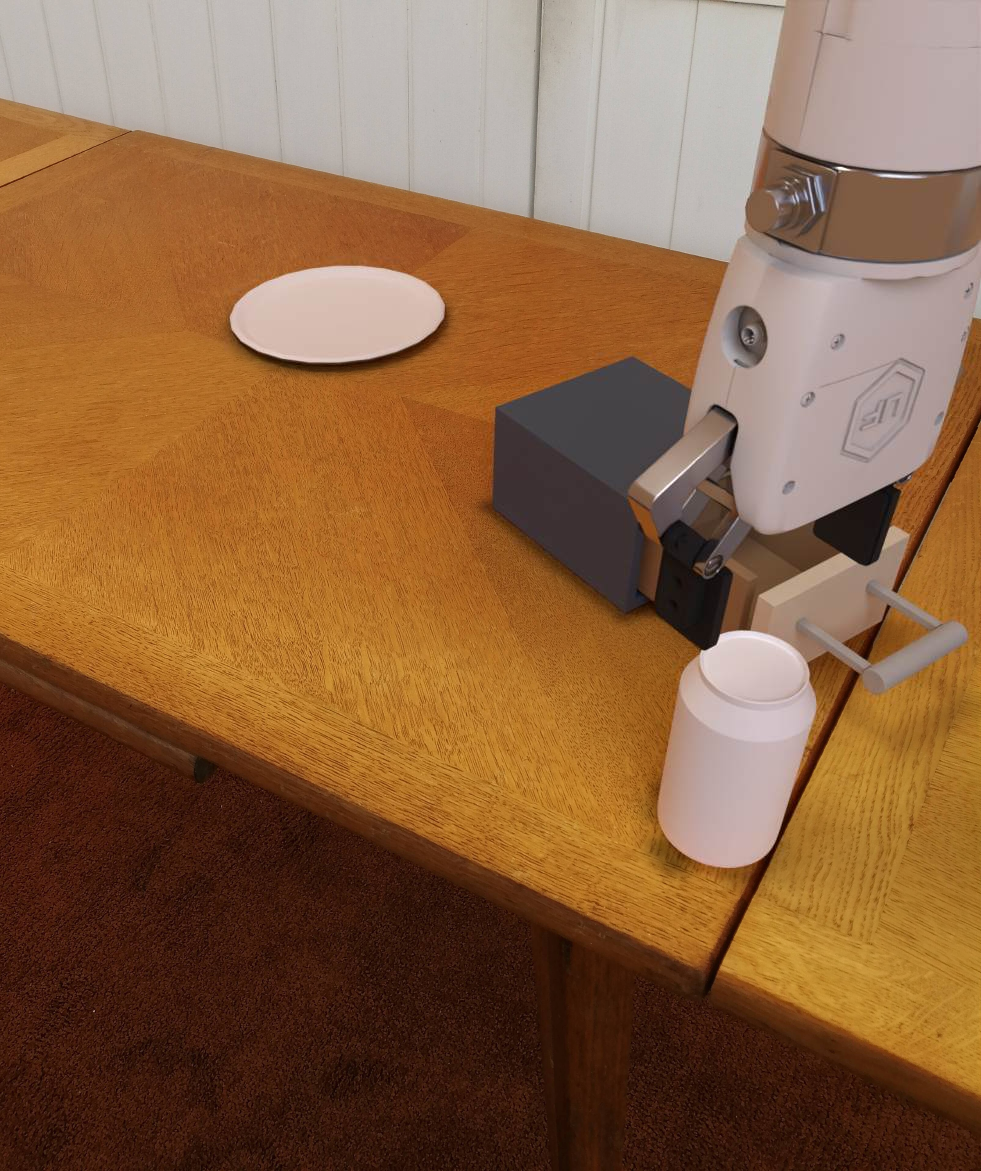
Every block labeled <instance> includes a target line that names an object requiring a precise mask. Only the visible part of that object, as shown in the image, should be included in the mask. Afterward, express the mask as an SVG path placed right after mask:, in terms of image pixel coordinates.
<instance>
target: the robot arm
mask: <svg viewBox="0 0 981 1171" xmlns="http://www.w3.org/2000/svg"><path fill="white" fill-rule="evenodd" d="M779 31H780V32H779V37H778V41H777V48H776V53H775V59H774V63H773V69H772V74H771V79H770V85H769V91H768V97H767V100H766V106H765V112H764V118H763V125H762V128H761V133H760V137H759V143H758V147H757V148H758V149H757V152H756V153H757V154H756V160H755V164H754V171H753V175H752V181H751V185H750V186H751V187H750V191H749V196H748V197H747V199H746V202H745V207H744V210H745V218H744V223H743V228H744V231H745V234H743V235H742V236H740V237H739V238H738V239H737V241H736V243H735V245H734V249H733V251H732V254H731V257H730V259H729V262H728V264H727V267H726V270H725V273H724V276H723V279H722V282H721V284H720V287H719V291H718V294H717V296H716V300H715V303H714V305H713V309H712V313H711V316H710V319H709V323H708V326H707V330H706V332H705V336H704V340H703V344H702V347H701V351H700V355H699V359H698V362H697V366H696V371H695V375H694V379H693V384H692V388H691V390H692V391H691V396H690V401H689V406H688V411H687V417H686V422H685V427H684V434H683V437H682V438H681V439H680V440H679V441H678V442H677V443H675V444H674V445H673V446H672V447H671V448H670V449H669V450H668V451H667V452H666V453H665V454H663V455H662V456H661V457H660V458H659V459H658V460H657V461H656V462H655V463H654V464H653V465H651V466H650V467H649V468H648V469H647V470H646V471H645V472H644V473H643V474H642V475H640V476H639V477H638V478H637V479H636V480H635V481H634V482H633V483H632V484H631V486H630V488H629V490H628V494H627V495H628V499H629V502H630V504H631V507H632V509H633V511H634V514H635V516H636V518H637V521H638V522H639V523H638V529H639V531H640V532H641V533H643V534H644V535H645V536H647V537H648V538H649V539H651V540H652V541H653V542H655V543H656V544H658V545H659V546H660V547H662V548H663V552H662V558H661V563H660V569H659V575H658V581H657V587H656V592H655V598H654V602H653V604H652V605H653V610H654V612H655V614H656V615H657V616H658V617H659V618H660V619H662V621H664V622H665V623H666V624H667V625H669V626H670V627H672V628H673V629H674V630H675V631H677V632H678V633H679V634H680V635H682V636H683V637H684V638H685V639H687V640H688V641H689V642H691V643H692V644H693V645H694V646H696V647H697V649H699V650H700V651H701V650H703V651H706V650H708V649H710V648H712V647H714V646H715V645H717V643H718V640H719V637H720V632H721V628H722V623H723V619H724V615H725V610H726V606H727V602H728V597H729V593H730V589H731V584H732V580H733V573H732V572H731V570H730V569H729V568H727V567H726V566H725V564H726V562H727V561H728V560H729V558H730V557H731V556H732V554H733V553H734V551H735V550H736V549H737V547H738V546H739V545H740V543H741V542H742V540H743V539H744V538H745V536H746V535H747V534H748V532H749V531H750V529H751V528H752V527H754V529H755V530H756V531H758V532H760V533H762V534H767V535H771V534H779V533H783V532H787V531H790V530H793V529H796V528H798V527H801V526H803V525H805V524H807V523H810V522H812V521H814V520H815V523H814V527H813V533H814V535H815V536H816V537H817V538H819V539H820V540H822V541H824V542H825V543H827V544H828V545H830V546H831V547H833V548H835V549H836V550H838V551H839V552H841V553H842V554H844V555H846V556H847V557H849V558H850V559H852V560H854V561H855V562H857V563H858V564H860V565H863V566H869V565H871V564H873V563H875V562H876V561H878V559H879V557H880V554H881V551H882V548H883V545H884V542H885V539H886V536H887V533H888V530H889V528H890V527H891V524H892V521H893V518H894V515H895V512H896V509H897V506H898V503H899V500H900V497H901V494H902V490H901V489H900V488H897V487H896V486H899V487H901V486H902V487H903V486H905V484H907V483H908V482H909V481H911V478H912V477H913V476H914V474H915V472H916V470H917V469H919V468H920V467H921V466H922V465H924V464H925V462H926V461H928V459H929V458H931V456H932V454H933V452H934V449H935V448H936V444H937V442H938V440H939V437H940V434H941V432H942V427H943V426H944V422H945V419H946V416H947V413H948V409H949V406H950V402H951V399H952V396H953V393H954V390H955V388H956V387H957V385H958V383H959V382H960V380H961V378H962V376H963V374H964V371H965V365H964V364H963V363H962V362H963V358H964V353H965V349H966V346H967V342H968V338H969V334H970V330H971V326H972V323H973V322H972V321H973V318H974V315H975V308H976V306H977V299H978V294H979V290H980V284H981V0H785V6H784V10H783V15H782V20H781V27H780V30H779ZM730 474H731V478H732V485H733V492H734V494H733V493H731V492H730V491H728V490H727V489H725V488H723V487H722V486H720V485H719V484H717V483H718V481H719V480H720V479H721V478H723V477H725V476H728V475H730ZM895 485H896V486H895ZM710 499H712V500H714V501H715V502H717V503H718V504H720V505H721V506H723V507H724V508H726V509H727V510H729V512H728V513H727V515H726V516H725V518H724V519H723V520H722V522H721V523H720V524H719V526H718V527H717V529H716V530H715V531H714V533H713V534H712V536H711V537H710V538H709V540H708V541H707V540H706V539H705V538H703V537H702V536H701V535H700V534H698V533H697V532H696V531H695V530H693V529H692V528H691V527H690V526H691V525H692V523H693V522H694V521H695V519H696V518H697V516H698V515H699V514H700V512H701V511H702V509H703V508H704V507H705V505H706V504H707V502H708V501H709V500H710Z"/></svg>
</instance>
